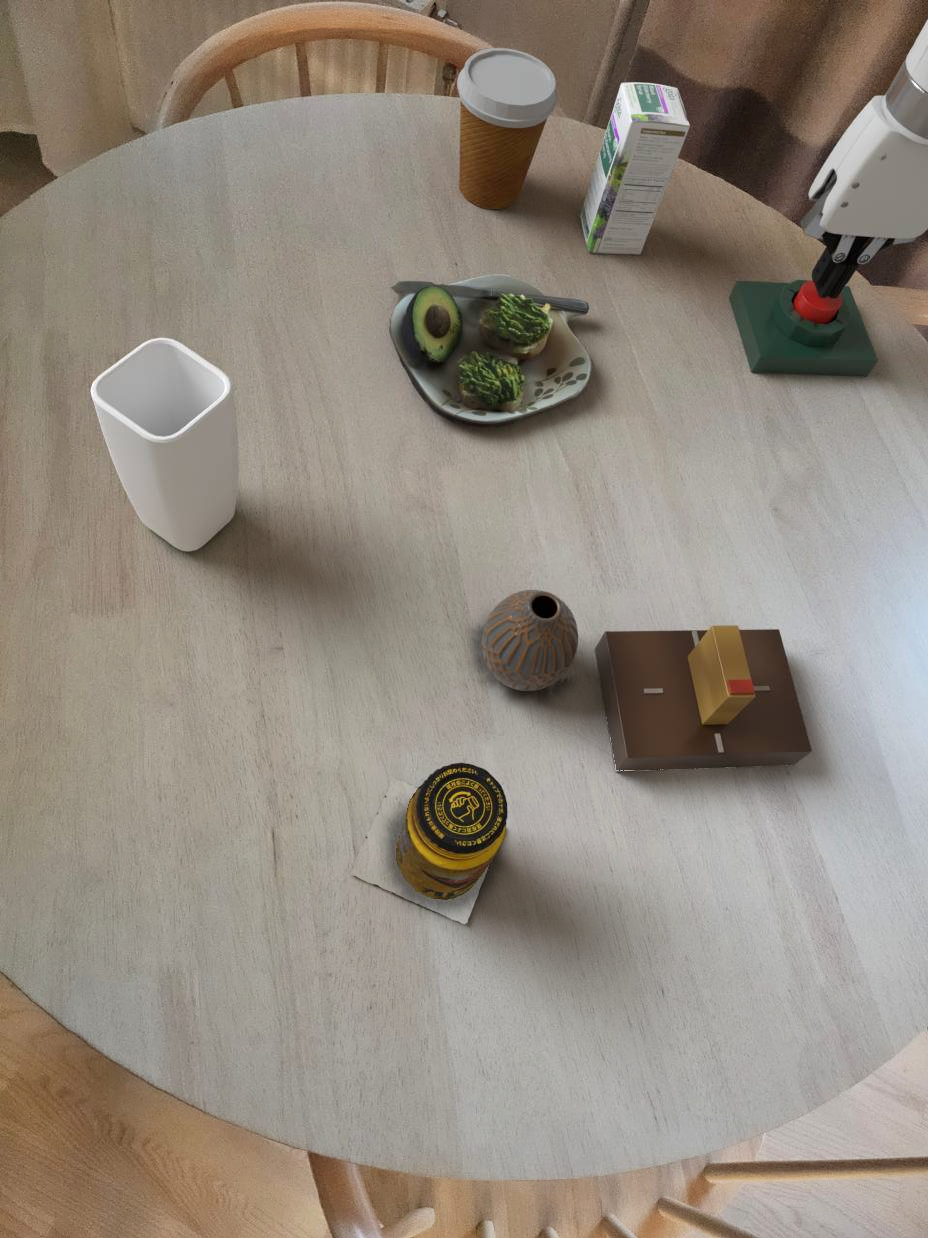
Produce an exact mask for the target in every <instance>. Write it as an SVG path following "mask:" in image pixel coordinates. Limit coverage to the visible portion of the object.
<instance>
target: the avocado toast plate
mask: <svg viewBox="0 0 928 1238" xmlns="http://www.w3.org/2000/svg"><path fill="white" fill-rule="evenodd" d="M389 288H390V289H391V290H392V291H393V292H394V293H395V294H396V295H397V297H398V300H397V304H396V306H395V307H394V309H393V311H392V313H391V315H390V319H389V326H388V328H389V330H388V331H389V335H390V338H391V342H392V345H393V346H394V349H395V351H396V355H397V356H398V360H399V362H400V364H401V366H402V367H403V369H404V371H405V372H406V374H407V376H408V378H409V380H410V381H411V384H412V386H413V388H414V389H415V390H416V392H417V393H418V395H419V396H420V397H421V399H422V400H423V401H424V402H425V403H426V404H427V405H428V407H429V408H430V409H432V411H434V412H435V413H436V414H437V415H439V416H441V417H442V418H445V419H446V420H448V421H450V422H453V423H456V424H459V425H463V426H468V427H474V428H493V427H505V426H509V425H513V424H515V423H517V422H519V421H520V420H522V419H524V418H526V417H529V416H532V415H535V414H540V413H541V412H545V411H548V410H551V409H553V408H555V407H556V406H559V405H560V404H563V403H565V402H567V401H568V400H571V399H574V398H576V397H578V396H579V395H580V394H581V393H582V392H583V390H584V389H585V388H586V387H587V386H588V385H589V381H590V378H591V375H592V371H593V362H592V361H591V358H590V356H589V353H588V352H587V350H586V349H585V347H584V346H583V345H582V343H581V342H580V341H579V339H578V338H577V336H575V334H574V333H573V331H572V330H571V328H570V326H569V323H568V322H569V321H570V320H571V319H573V318H575V317H580V316H581V317H582V316H585V315H587V314H588V313H589V310H590V304H589V303H588V302H587V301H586V300H581V299H575V298H569V297H568V298H567V297H558V296H549V295H548V296H547V295H545V293H544V292H543V291H541V290H540V289H539V288H537V287H536V286H535V285H534V284H531V283H529V282H527V281H526V280H523V279H520V278H517V277H514V276H511V275H508V274H504V273H503V274H502V273H493V274H488V275H480V276H476V277H472V278H468V279H465V280H461V281H456V282H453V283H450V284H443V283H440V284H436V283H434V282H432V281H422V280H402V281H397V282H396V284H394V285H393V286H391V287H389Z"/></svg>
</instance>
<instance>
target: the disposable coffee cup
mask: <svg viewBox="0 0 928 1238" xmlns="http://www.w3.org/2000/svg"><path fill="white" fill-rule="evenodd" d="M556 84H557V83H556V78H555V75H554V73H553V71H552V70H551V69H550V68H549V66H547V65H546V63H545V62H543V61H541V60H540V59H539V58H537V57H535V56H533V55H531V54H530V53H527V52H523V51H521V50H518V49H513V48H507V47H492V48H491V47H490V48H486V49H482V50H480V51H477V52H475V53H474V54H472V55H470V57H469V58H467V60H466V61H465V64H464V66H463V67H462V69H461V70H460V72H459V74H458V76H457V80H456V89H457V91H458V95H459V98H460V103H459V104H460V108H459V111H460V112H459V113H460V114H459V117H460V120H459V125H460V126H459V173H458V174H459V177H458V187H459V191H460V193H461V194H462V196H463V197H464V198H465V199H466V200H467V201H468V202H470V203H471V204H472V205H475V206H477V207H481V208H482V209H483V208H484V209H487V210H488V209H489V210H502V209H507V208H509V207H511V206H512V205H514V204H515V203H516V202H517V201H518V199H519V198H520V194H521V192H522V189H523V187H524V183H525V180H526V177H527V174H528V172H529V170H530V166H531V164H532V161H533V158H534V156H535V153H536V151H537V148H538V145H539V142H540V139H541V137H542V134H543V131H544V129H545V126H546V124H547V121H548V118H549V117H550V116H551V114H552V113H553V112H554V111H555V108H556V106H557V104H558V98H559V96H558V90H557V88H556V87H557V85H556Z"/></svg>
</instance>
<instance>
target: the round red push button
mask: <svg viewBox="0 0 928 1238" xmlns="http://www.w3.org/2000/svg"><path fill="white" fill-rule="evenodd" d="M810 280H811V279H810ZM841 304H842V297H841V295H840V294H839V296H838V297H837V298H836V299H834V298H830V297H829V296H828V297H826V298H820V297H819V296H818V293H817V290H816V287H815V284H814V282H813V280H811V281H808V282H806V283H805V284H803V286H802V287H801V289H800V291H799V293H798V294H797V296H796V298H795V300H794V304H793V305H794V309H795V311H796V312H797V313H798V314H800V315H801V316H802V317H803V318H804V319H806V320H809V321H811V322H813V323H817V324H826V323H828V322H830V321H831V320H832V319H833V317H834V315H835V314H836V312H837V311H838V309H839V308H840V306H841Z"/></svg>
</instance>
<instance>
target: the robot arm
mask: <svg viewBox="0 0 928 1238" xmlns="http://www.w3.org/2000/svg"><path fill="white" fill-rule="evenodd" d="M807 194H808V195H807V196H808V199H809V201H811V202H813V203H814V204H813V205H812V207H810V209H809V210H808V211H807V212H806V214H804V216H803V217H802V218H801V220H799V221H800V222H799V224H800V228H801V230H802V233H803V235H805V236H807V237H809V238H813V239H816V240H821V241H823V243H824V245H825V248H824V250H823V252H822V254H821V255H820V257H819V258H818V260H817V262H816V264H815V265H814V267H813V269H812V271H811V279H812V280H813V282H814V284H815V287H816V290H817V293H818V296H819V297H820V298H826V297H828V296H829V297H830V298H834V299H836V298H837V297H838V296H839V294H840V293H841V291H842V290H843V288H844V287H845V286H847V284H848V283H849V282H850V280H851V278H852V277H853V275H854V274H855V272H856V271H857V269H858V268H859V266H860V265H865V264H867V263H869V262H870V261H871V260H872V258H873V257H874V256H875V255H876V254H877V253H879V252H880V251H882V250H884V249H886V248H888V247H890V246H892V245H901V244H907V243H913V242H914V241H915V240H917V238H918V237H920V236H921V235H923V234H924V233H925V232H926V231H927V230H928V19H927V20H926V21H925V23H924V25H923V27H922V28H921V30H920V32H919V34H918V36H917V37H916V39H915V40H914V43H913V45H912V47H911V48H910V50H909V52H908V53H907V55H906V57H905V59H904V61H903V62H902V64H901V65H900V67H899V69H898V71H897V73H896V75H895V76H894V78H893V80H892V82H891V84H890V85H889V87H888V89H887V91H886V93H885V94H884V95H874V96H873V97H872V99H871V100H869V102H868V103H866V105H865V106H864V107H863V109H861V110H860V112H859V113H858V114H857V115H856V117H855V118H854V119H853V121H852V122H851V123H850V124H849V126H848V127H847V128H846V130H845V131H844V132H843V134H842V136H841V137H840V138H839V140H838V142H836V145H835V146H834V148H833V149H832V151H831V152H830V154H829V155H828V157H827V158H826V160H825V161H824V163H823V165H822V167H821V168H820V170H819V172H818V173H817V175H816V177H815V178H814V180H813V182H812V184H811V186H810V188H809V191H808V193H807Z"/></svg>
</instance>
